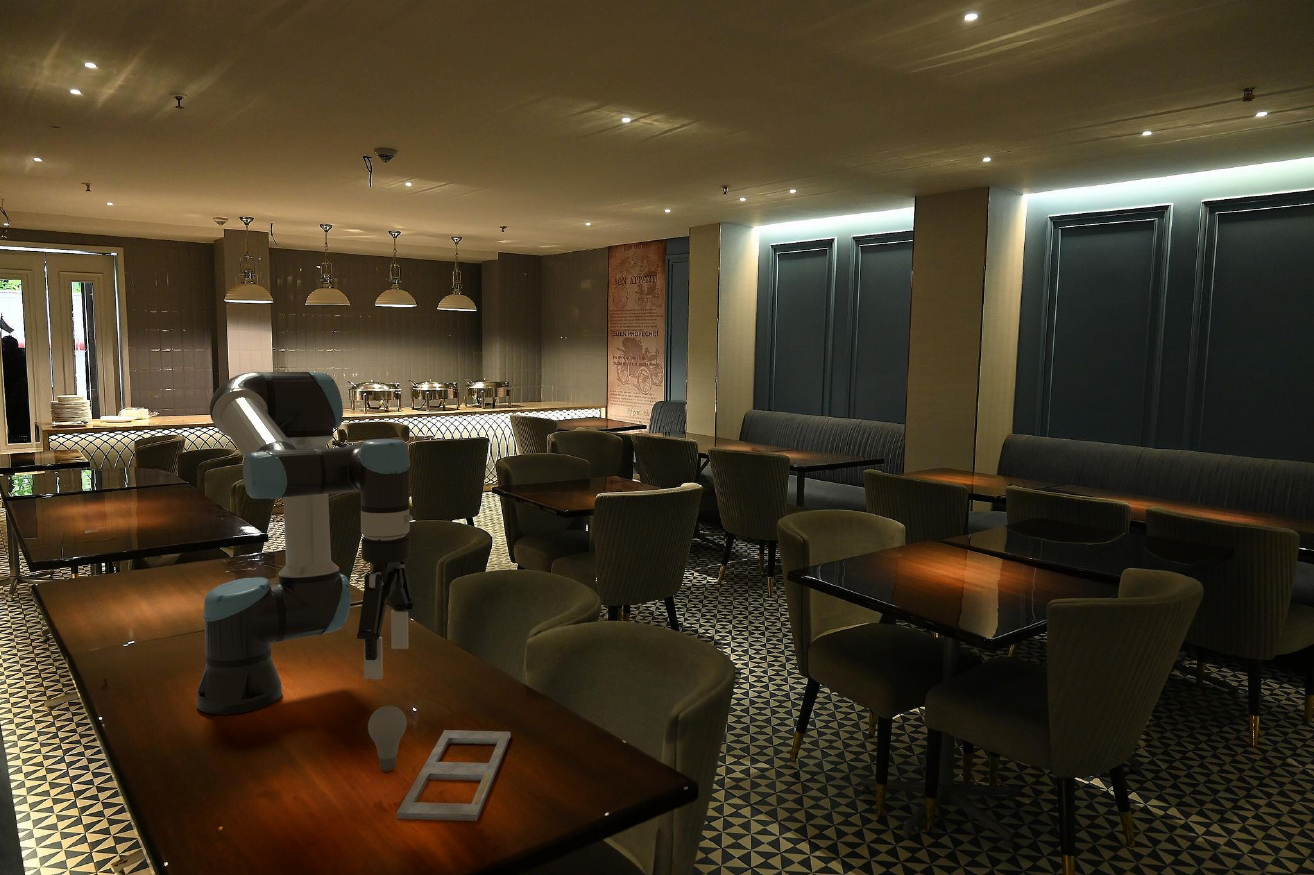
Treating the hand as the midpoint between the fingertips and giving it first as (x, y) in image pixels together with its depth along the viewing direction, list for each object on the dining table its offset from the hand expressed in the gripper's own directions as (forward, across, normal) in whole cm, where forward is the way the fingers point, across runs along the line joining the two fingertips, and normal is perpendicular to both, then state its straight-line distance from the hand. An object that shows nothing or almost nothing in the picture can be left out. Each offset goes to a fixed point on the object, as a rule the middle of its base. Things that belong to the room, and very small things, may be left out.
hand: (387, 662), depth 141 cm
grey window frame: (+19, 0, -12) cm, 22 cm away
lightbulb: (+19, 0, 0) cm, 19 cm away
